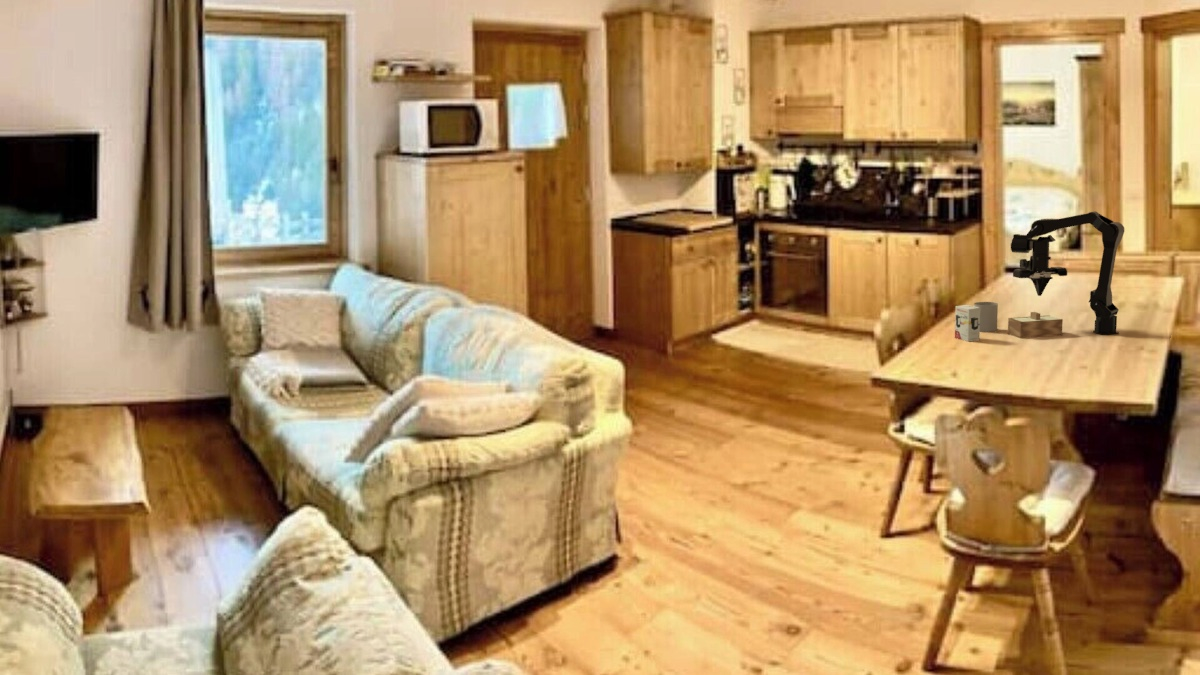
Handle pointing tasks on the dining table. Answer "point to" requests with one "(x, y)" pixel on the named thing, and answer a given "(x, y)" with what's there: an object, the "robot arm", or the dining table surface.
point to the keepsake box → (1034, 328)
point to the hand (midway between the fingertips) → (1039, 295)
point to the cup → (988, 316)
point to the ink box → (967, 323)
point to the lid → (1035, 317)
